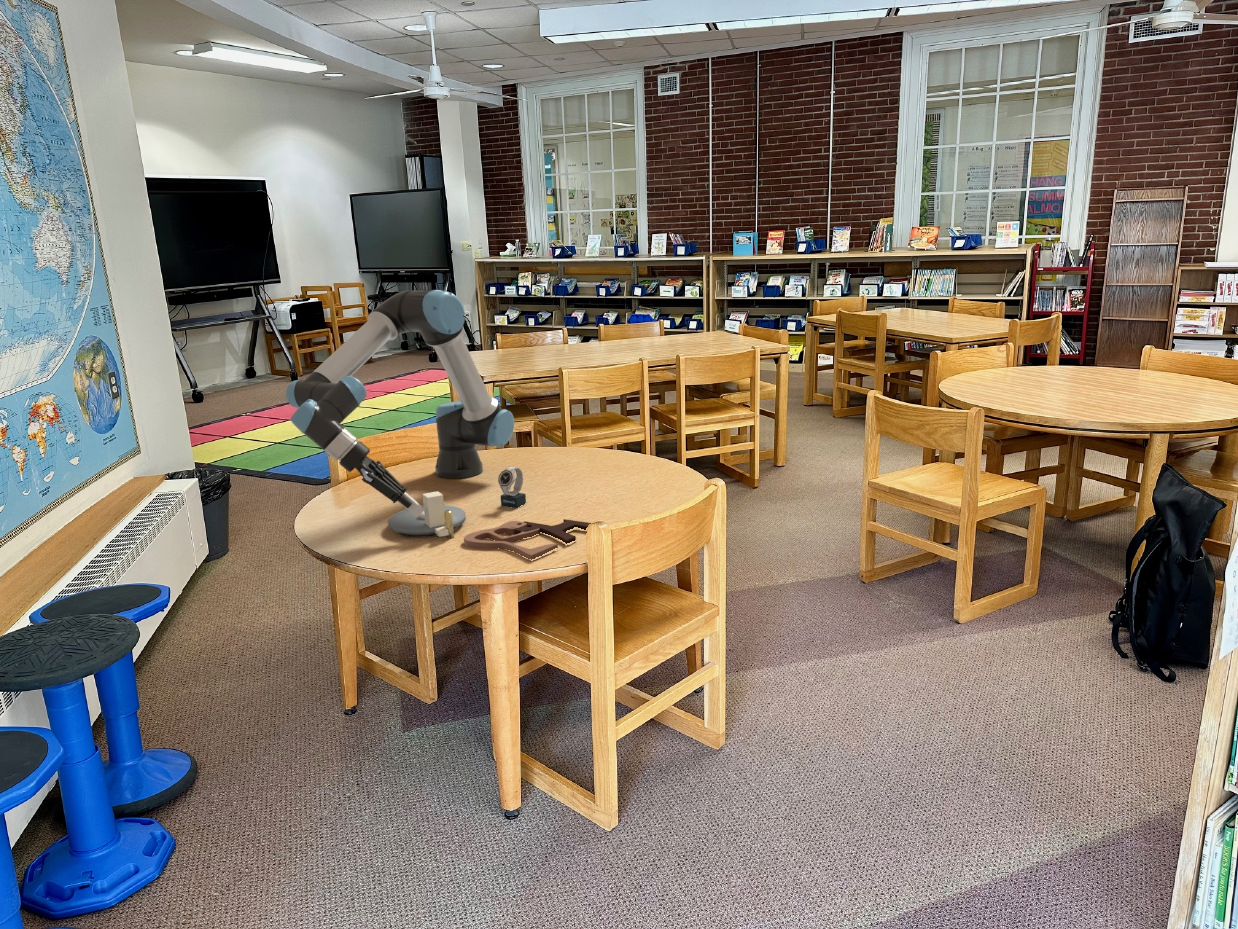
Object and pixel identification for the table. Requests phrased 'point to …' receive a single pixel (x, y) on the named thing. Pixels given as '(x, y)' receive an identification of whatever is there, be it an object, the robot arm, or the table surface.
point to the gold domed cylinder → (449, 523)
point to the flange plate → (419, 525)
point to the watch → (506, 481)
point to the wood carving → (522, 536)
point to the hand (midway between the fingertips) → (420, 513)
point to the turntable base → (421, 534)
